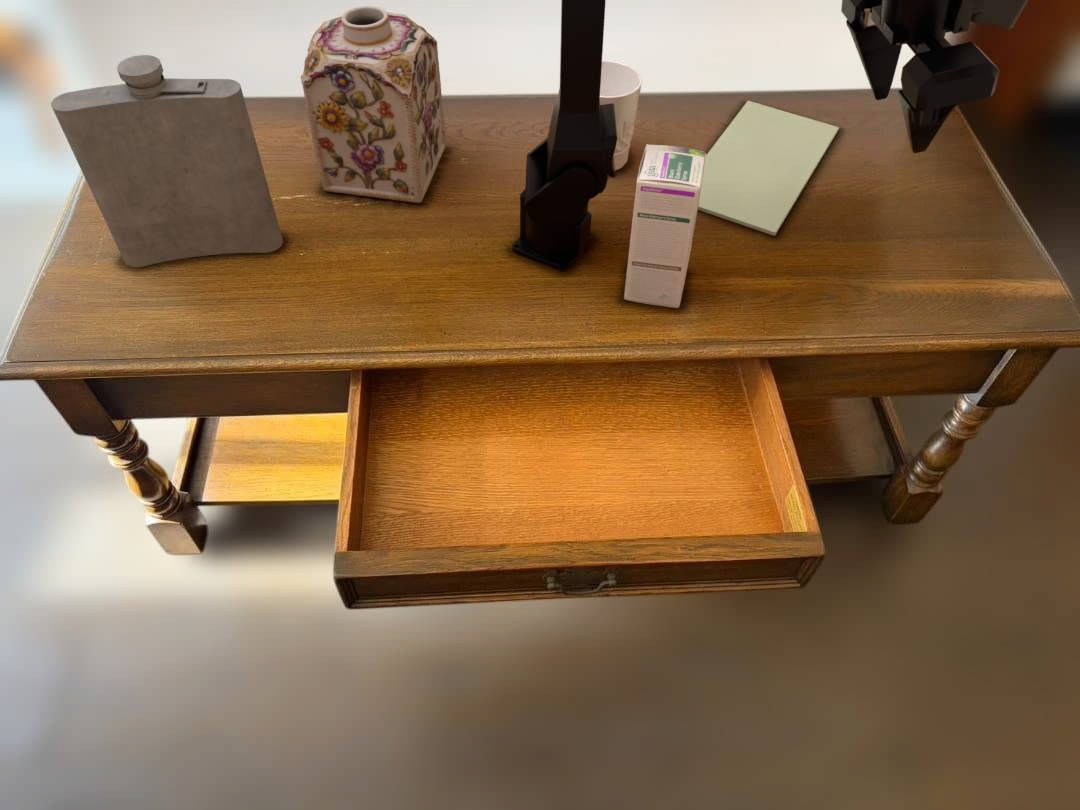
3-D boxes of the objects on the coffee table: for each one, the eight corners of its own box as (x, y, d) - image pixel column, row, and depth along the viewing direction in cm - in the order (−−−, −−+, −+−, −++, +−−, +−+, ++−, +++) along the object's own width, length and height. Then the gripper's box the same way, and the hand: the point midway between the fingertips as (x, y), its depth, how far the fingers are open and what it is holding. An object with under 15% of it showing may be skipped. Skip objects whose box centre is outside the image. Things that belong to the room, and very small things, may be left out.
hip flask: (122, 269, 84) (34, 84, 69) (126, 244, 87) (43, 60, 72) (283, 251, 87) (232, 68, 71) (282, 227, 89) (234, 45, 74)
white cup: (614, 184, 95) (622, 104, 88) (554, 163, 98) (557, 84, 90) (643, 151, 100) (653, 72, 92) (585, 131, 102) (590, 53, 95)
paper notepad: (672, 201, 94) (673, 197, 93) (747, 103, 107) (748, 100, 107) (774, 236, 90) (775, 232, 90) (838, 130, 104) (839, 127, 103)
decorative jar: (422, 207, 92) (405, 49, 78) (321, 194, 93) (286, 36, 79) (448, 146, 100) (437, -7, 86) (354, 135, 101) (328, -18, 87)
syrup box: (680, 310, 82) (705, 186, 71) (620, 301, 83) (636, 177, 72) (685, 272, 86) (710, 149, 75) (628, 264, 87) (644, 141, 75)
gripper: (1097, -28, 59) (1037, 161, 70) (979, -118, 71) (945, 56, 82) (936, 9, 59) (904, 189, 71) (847, -87, 72) (832, 81, 83)
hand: (899, 123), depth 77 cm, fingers open, 9 cm apart
